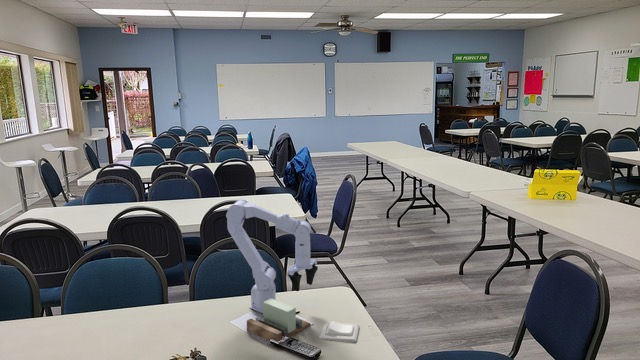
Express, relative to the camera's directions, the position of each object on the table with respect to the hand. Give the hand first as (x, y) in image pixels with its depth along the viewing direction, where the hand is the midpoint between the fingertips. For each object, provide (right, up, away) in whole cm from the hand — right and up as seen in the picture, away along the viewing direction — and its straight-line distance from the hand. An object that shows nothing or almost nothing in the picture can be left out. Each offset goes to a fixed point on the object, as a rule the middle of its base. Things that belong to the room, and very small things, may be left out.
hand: (303, 287), depth 172 cm
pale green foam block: (-8, -11, -12) cm, 18 cm away
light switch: (+13, -13, -15) cm, 24 cm away
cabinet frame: (-8, -12, -12) cm, 19 cm away
